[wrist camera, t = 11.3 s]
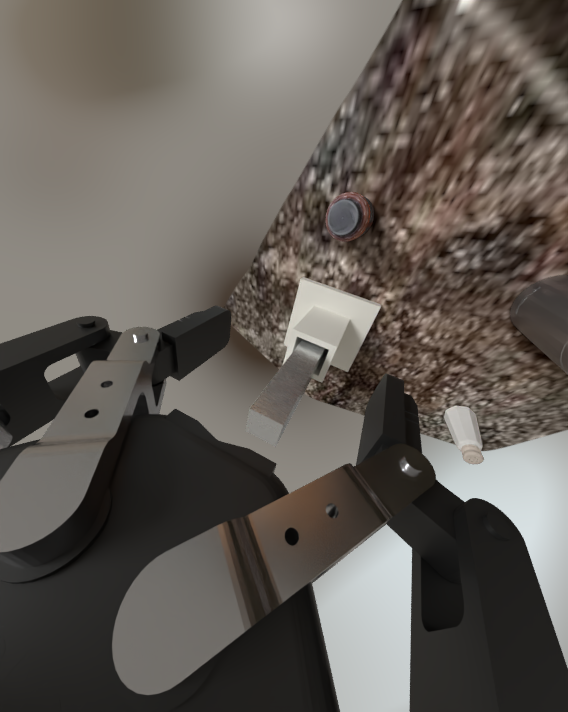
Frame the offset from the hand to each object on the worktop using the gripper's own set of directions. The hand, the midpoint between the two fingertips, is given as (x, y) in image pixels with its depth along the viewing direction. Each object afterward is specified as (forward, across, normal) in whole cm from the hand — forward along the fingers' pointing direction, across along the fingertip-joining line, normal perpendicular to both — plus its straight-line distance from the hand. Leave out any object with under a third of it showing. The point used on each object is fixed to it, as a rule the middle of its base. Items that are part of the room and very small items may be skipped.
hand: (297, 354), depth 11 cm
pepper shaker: (+37, -29, +24) cm, 53 cm away
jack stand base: (+36, +3, +15) cm, 40 cm away
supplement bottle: (+37, +5, -5) cm, 37 cm away
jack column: (+28, +3, +15) cm, 32 cm away
